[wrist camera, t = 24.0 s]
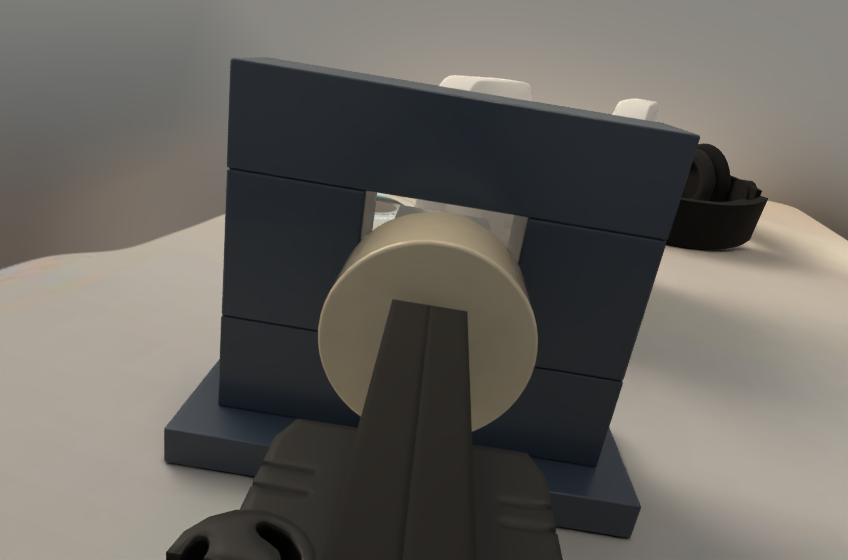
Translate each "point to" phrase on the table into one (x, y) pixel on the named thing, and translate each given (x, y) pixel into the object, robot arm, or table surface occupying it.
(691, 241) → the headphones
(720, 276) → the table surface
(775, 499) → the table surface
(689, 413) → the table surface
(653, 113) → the cable organizer
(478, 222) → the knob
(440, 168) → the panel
